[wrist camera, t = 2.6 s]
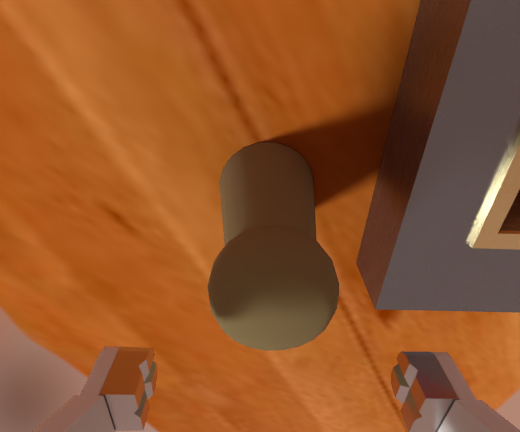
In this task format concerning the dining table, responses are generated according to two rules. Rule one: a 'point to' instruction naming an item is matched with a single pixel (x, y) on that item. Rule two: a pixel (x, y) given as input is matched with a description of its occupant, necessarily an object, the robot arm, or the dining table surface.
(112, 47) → the dining table surface
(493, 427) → the robot arm
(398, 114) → the block
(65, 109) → the dining table surface
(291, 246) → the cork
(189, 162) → the dining table surface
